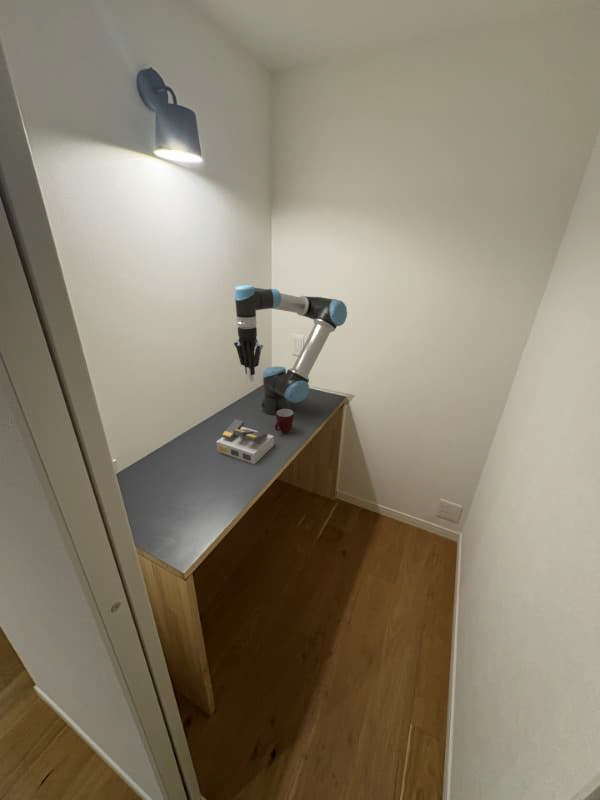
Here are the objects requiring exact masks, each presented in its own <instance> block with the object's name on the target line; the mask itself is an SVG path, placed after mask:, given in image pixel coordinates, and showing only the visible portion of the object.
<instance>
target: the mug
mask: <svg viewBox="0 0 600 800" xmlns="http://www.w3.org/2000/svg"><path fill="white" fill-rule="evenodd" d="M275 416H276V417H275V420H276V422H275V425H274V429H275V430H276V431H278V432H281V433H282V434H288V433H290V431H291V430H292V428H293V423H294V418H295V417H294V416H295V413H294V411H293V409H290V408H289V409H280V410H278V411H277V412H276V415H275Z"/></svg>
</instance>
